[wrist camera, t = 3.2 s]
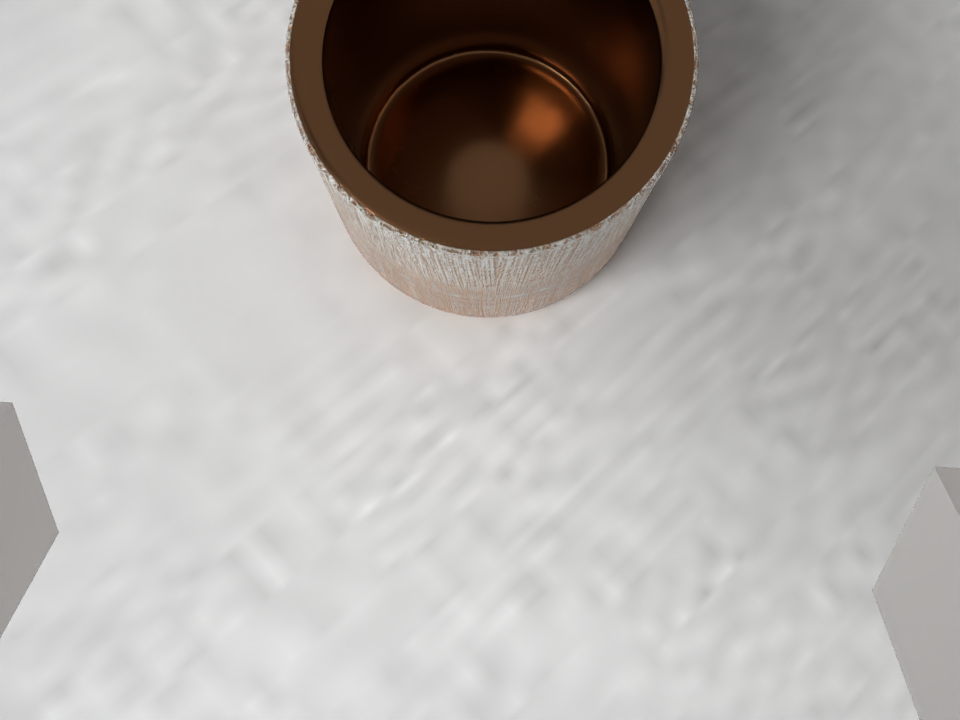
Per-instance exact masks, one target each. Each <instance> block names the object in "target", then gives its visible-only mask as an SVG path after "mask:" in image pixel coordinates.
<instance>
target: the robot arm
mask: <svg viewBox="0 0 960 720" xmlns="http://www.w3.org/2000/svg"><path fill="white" fill-rule="evenodd" d="M58 533H59V532H58V529H57V526H56V524H55V521H54V518H53V515H52V512H51V510H50V507H49V504H48V501H47V498H46V496H45V493H44V490H43V487H42V484H41V482H40V479H39V476H38V473H37V470H36V468H35V465H34V462H33V459H32V456H31V454H30V451H29V448H28V445H27V442H26V439H25V437H24V434H23V431H22V428H21V425H20V423H19V420H18V417H17V414H16V411H15V409H14V406H13V403H8V402H0V638H1V636H2V634H3V632H4V630H5V629H6V627H7V625H8V623H9V621H10V620H11V618H12V616H13V614H14V612H15V611H16V609H17V607H18V605H19V603H20V602H21V600H22V598H23V596H24V594H25V593H26V591H27V589H28V587H29V585H30V584H31V582H32V580H33V578H34V576H35V574H36V573H37V571H38V569H39V567H40V565H41V564H42V562H43V560H44V558H45V556H46V555H47V553H48V551H49V549H50V547H51V546H52V544H53V542H54V540H55V538H56V537H57V535H58ZM872 591H873V593H874V596H875V599H876V602H877V604H878V607H879V610H880V612H881V615H882V618H883V621H884V623H885V626H886V629H887V632H888V634H889V637H890V640H891V642H892V645H893V648H894V651H895V653H896V656H897V659H898V661H899V664H900V667H901V670H902V672H903V675H904V678H905V681H906V683H907V686H908V689H909V691H910V694H911V697H912V700H913V702H914V705H915V708H916V711H917V713H918V716H919V719H920V720H960V469H959V468H945V467H934V468H933V470H932V472H931V474H930V476H929V478H928V480H927V482H926V484H925V486H924V488H923V490H922V492H921V494H920V496H919V498H918V500H917V502H916V504H915V506H914V508H913V510H912V512H911V514H910V516H909V518H908V520H907V522H906V524H905V526H904V528H903V530H902V532H901V534H900V536H899V538H898V540H897V542H896V544H895V546H894V548H893V550H892V552H891V554H890V556H889V558H888V560H887V562H886V564H885V566H884V568H883V570H882V572H881V574H880V576H879V578H878V580H877V582H876V584H875V586H874V588H873V590H872Z"/></svg>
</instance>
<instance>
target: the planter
mask: <svg viewBox="0 0 960 720" xmlns="http://www.w3.org/2000/svg"><path fill="white" fill-rule="evenodd" d="M285 64H286V79H287V86H288V93H289V98H290V102H291V107H292V110H293V114H294V117H295V120H296V123H297V126H298V129H299V131H300V134H301V136H302V139H303V141H304V143H305V145H306V147H307V149H308V151H309V153H310V155H311V157H312V159H313V161H314V163H315V165H316V167H317V168H318V170H319V172H320V174H321V176H322V178H323V181H324V183H325V185H326V187H327V189H328V191H329V193H330V195H331V198H332V200H333V202H334V204H335V206H336V208H337V211H338V213H339V215H340V217H341V219H342V221H343V223H344V225H345V227H346V229H347V231H348V233H349V235H350V237H351V239H352V240H353V242H354V244H355V245H356V247H357V248H358V250H359V251H360V253H361V254H362V255H363V257H364V258H365V259H366V260H367V262H368V263H369V264H370V265H371V266H372V267H373V268H374V269H375V270H376V271H377V272H378V273H379V274H380V275H381V276H382V277H383V278H384V279H385V280H387V281H388V282H389V283H390V284H391V285H393V286H394V287H396V288H397V289H398V290H400V291H401V292H403V293H405V294H406V295H408V296H410V297H411V298H413V299H415V300H417V301H419V302H421V303H423V304H426V305H428V306H430V307H433V308H436V309H439V310H442V311H445V312H449V313H453V314H457V315H463V316H469V317H505V316H512V315H518V314H522V313H527V312H530V311H533V310H536V309H539V308H542V307H545V306H547V305H550V304H552V303H554V302H556V301H558V300H560V299H562V298H564V297H566V296H568V295H569V294H571V293H573V292H574V291H576V290H577V289H579V288H580V287H581V286H583V285H584V284H585V283H587V282H588V281H589V280H590V279H591V278H593V277H594V276H595V275H596V274H597V273H598V272H599V271H600V270H601V269H602V268H603V267H604V266H605V264H606V263H607V262H608V261H609V260H610V259H611V257H612V256H613V255H614V253H615V252H616V250H617V249H618V247H619V246H620V244H621V243H622V241H623V239H624V238H625V236H626V234H627V233H628V231H629V229H630V228H631V226H632V224H633V222H634V221H635V219H636V217H637V215H638V214H639V212H640V210H641V208H642V207H643V205H644V203H645V201H646V200H647V198H648V196H649V194H650V193H651V191H652V189H653V188H654V186H655V184H656V183H657V181H658V180H659V178H660V177H661V175H662V173H663V172H664V170H665V168H666V167H667V165H668V164H669V162H670V160H671V159H672V157H673V155H674V153H675V151H676V149H677V147H678V145H679V143H680V141H681V139H682V136H683V134H684V131H685V129H686V127H687V124H688V121H689V117H690V114H691V111H692V107H693V103H694V98H695V94H696V86H697V79H698V44H697V35H696V29H695V24H694V19H693V15H692V11H691V8H690V4H689V1H688V0H295V1H294V5H293V9H292V12H291V16H290V21H289V26H288V31H287V40H286V58H285Z"/></svg>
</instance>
